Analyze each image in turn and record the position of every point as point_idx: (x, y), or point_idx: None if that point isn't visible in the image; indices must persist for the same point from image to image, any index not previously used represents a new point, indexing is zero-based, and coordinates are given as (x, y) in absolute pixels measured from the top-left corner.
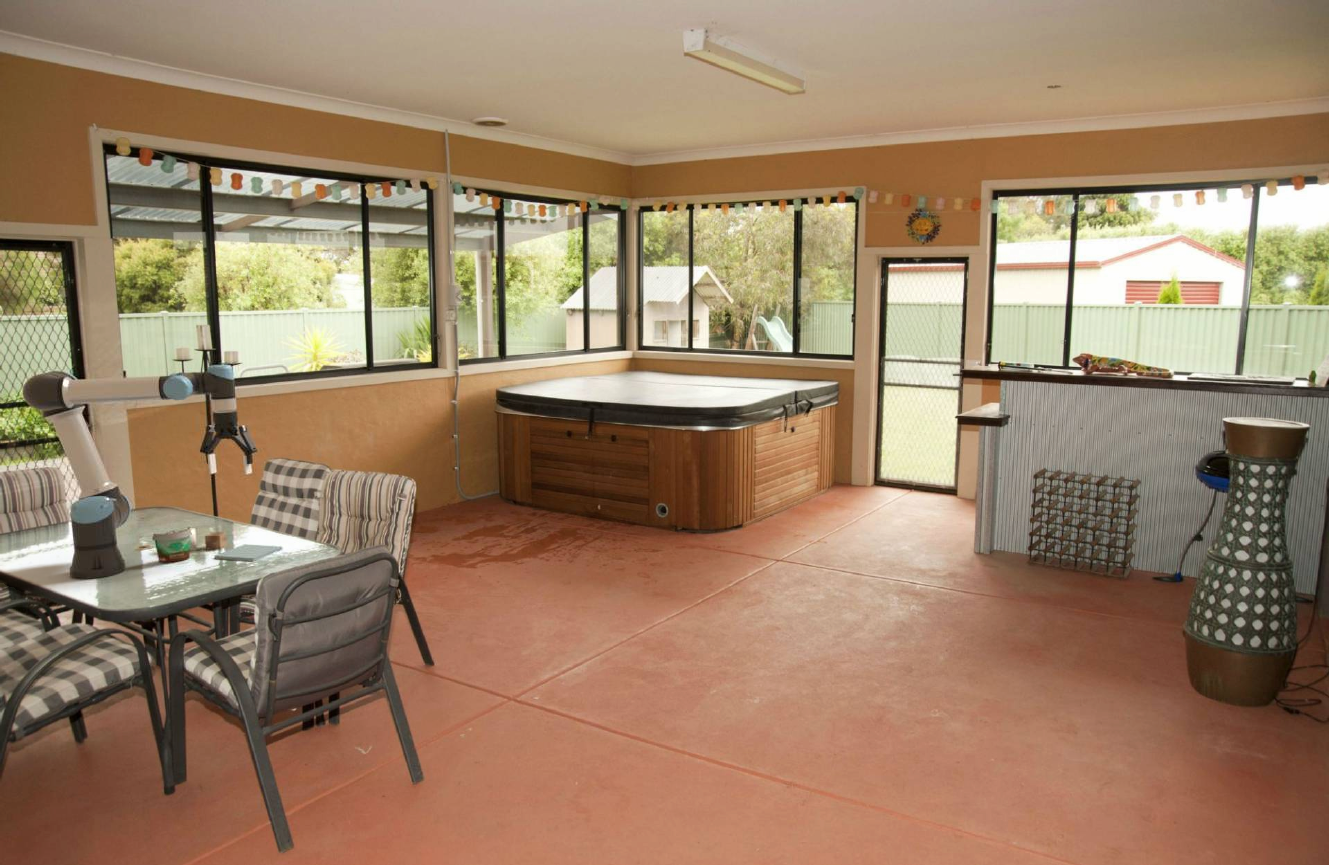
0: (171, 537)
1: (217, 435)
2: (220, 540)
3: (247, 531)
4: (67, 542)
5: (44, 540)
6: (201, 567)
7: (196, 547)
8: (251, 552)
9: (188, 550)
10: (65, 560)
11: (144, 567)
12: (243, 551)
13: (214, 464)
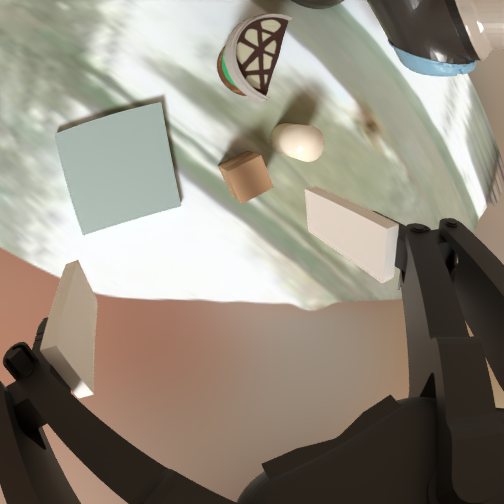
0: (240, 24)
1: (461, 394)
2: (224, 171)
3: (281, 286)
4: (456, 125)
5: (473, 128)
6: (128, 42)
7: (274, 148)
8: (100, 164)
9: (225, 77)
10: None
11: (254, 6)
12: (126, 160)
13: (336, 238)
